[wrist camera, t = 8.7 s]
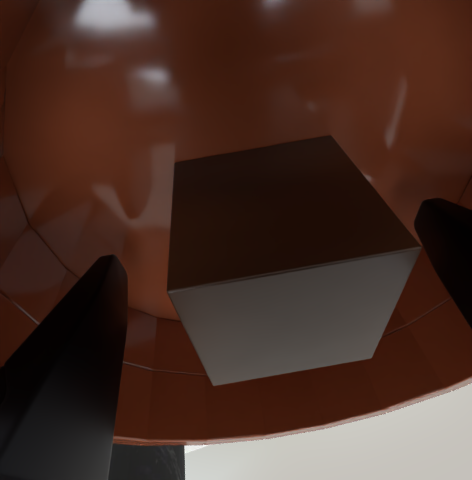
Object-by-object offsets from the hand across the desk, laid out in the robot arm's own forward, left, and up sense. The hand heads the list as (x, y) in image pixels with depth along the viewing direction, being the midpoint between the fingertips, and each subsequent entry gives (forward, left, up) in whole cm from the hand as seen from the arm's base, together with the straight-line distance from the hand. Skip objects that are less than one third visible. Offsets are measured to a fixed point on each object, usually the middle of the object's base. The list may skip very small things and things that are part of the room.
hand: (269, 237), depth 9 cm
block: (0, 0, -1) cm, 1 cm away
